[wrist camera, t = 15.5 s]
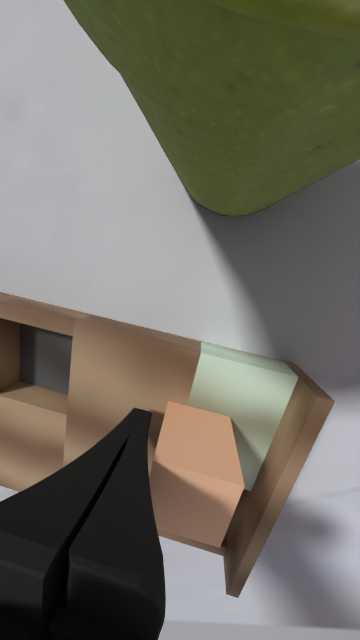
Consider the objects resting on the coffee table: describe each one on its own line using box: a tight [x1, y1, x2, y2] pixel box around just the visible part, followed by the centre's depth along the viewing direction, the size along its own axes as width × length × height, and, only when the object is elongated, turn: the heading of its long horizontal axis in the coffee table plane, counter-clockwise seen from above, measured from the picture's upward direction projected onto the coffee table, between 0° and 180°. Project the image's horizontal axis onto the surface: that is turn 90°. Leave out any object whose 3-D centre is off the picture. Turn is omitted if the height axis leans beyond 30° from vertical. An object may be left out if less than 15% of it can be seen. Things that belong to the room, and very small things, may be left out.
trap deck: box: [0, 292, 335, 598], centre depth 13 cm, size 16×25×4 cm, turn 78°
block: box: [149, 401, 245, 548], centre depth 10 cm, size 4×4×4 cm
